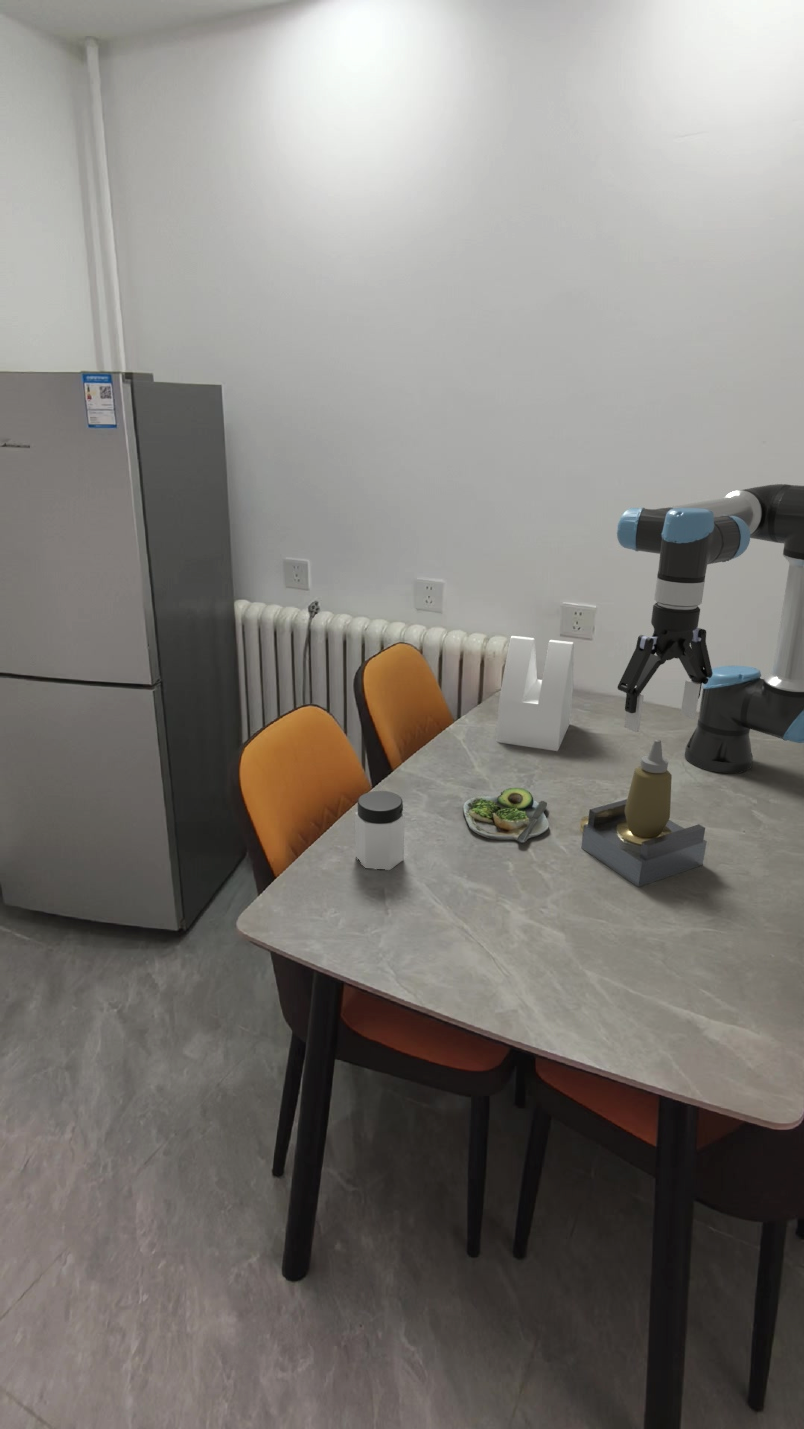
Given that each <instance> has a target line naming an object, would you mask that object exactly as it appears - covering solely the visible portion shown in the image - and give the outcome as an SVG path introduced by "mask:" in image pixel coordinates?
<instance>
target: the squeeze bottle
mask: <svg viewBox="0 0 804 1429" xmlns="http://www.w3.org/2000/svg"><path fill="white" fill-rule="evenodd" d="M668 766H669V761H668V759H667V758H665V757H663V749H662V741H661V740H660V739H654V740H653V743H652V745H651V747H650V750H649V753H648V754H647V755H644V756H641V760H640V766H637V767H636V768H635V769H634V772H633V776H632V780H631V783H630V787H629V791H628V795H627V798H626V799H627V802H626V806H625V810H624V811H625V816H626V820H627V824H628V828H629V830H630V831H631V832H632V833H633V834H636V835H638V836H642V837H657V836H659V835H660V834H661V833H662V831H663V829H664V827H665V826H666V824H667V822H668V821H669V820H670V816H671V798H672V776H673V775H672V774H671V772H670V771H669V770H668Z"/></svg>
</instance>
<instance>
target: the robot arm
mask: <svg viewBox="0 0 804 1429" xmlns="http://www.w3.org/2000/svg"><path fill="white" fill-rule="evenodd" d="M616 531H617V532H616V537H617V538H616V539H617V541H618V543H619V545H620V546H622V548H624V549H628V550H633V551H635V552H644V553H652V554H659V562H658V571H657V574H656V575H657V577H656V584H655V593H654V601H655V603H654V604H653V605H652V612H651V619H650V623H651V626H652V627H653V633H652V635H651V636H646V635H643V634H640V635H639V636H638V638H637V641H636V645H635V649H634V651H633V653H632V655H631V658H630V660H629V662H628V663H627V665H626V668H625V669H624V672H623V674H622V677H621V679H620V680H619V683H618V684H617V690H618V691H620V692H623V693H625V694H626V697H625V704H624V711H625V712H626V713H625V721H624V728H626V729H628V730H630V731H632V732H635V733H638V732H640V725H641V718H642V713H643V712H642V711H643V704H644V695H643V694H642V692H643V691H644V689H645V688H646V686H647V685H648V683H649V682H650V681H651V679H652V678H653V676H654V675H655V673H656V672H657V670H658V669H659V667H660V666H661V665H664V664H665V663H666V662H667V661H671V660H673V659H677V660H679V661H680V663H681V665H682V667H683V669H684V670H685V672H686V674H687V676H688V678H689V679H686V680H685V681H684V687H683V688H684V689H683V695H682V701H681V708H680V715H681V716H684V717H686V718H689V719H691V720H694V719H696V716H697V715H696V714H697V708H698V704H699V703H698V702H699V699H700V698H701V700H700V705H699V711H698V719H697V723H696V724H697V725H696V727H695V729H694V731H693V733H692V734H691V736H690V738H689V740H688V743H687V744H686V745H685V750H684V758H685V760H686V761H688V762H689V763H690V764H692V765H693V766H695V767H697V768H700V769H703V770H706V771H710V772H715V773H722V774H739V773H743V772H747V771H749V770H750V769H751V768H752V763H753V758H754V756H753V753H752V745H751V739H750V730H752V731H756V732H760V733H761V734H764V735H769V736H772V737H775V738H778V739H781V740H783V741H789V742H792V743H797V744H804V485H799V484H797V485H794V484H788V483H787V484H786V483H785V484H782V483H781V484H779V483H776V484H768V485H761V486H756V487H755V486H754V487H749V488H745V489H739V490H734V491H732V492H729V493H727V494H726V495H725V496H723V497H722V498H721V497H720V498H717V499H711V500H705V501H698V502H693V503H686V504H685V503H684V504H681V505H675V506H674V505H673V506H670V507H661V508H655V509H654V508H653V509H651V508H645V507H640V508H639V507H631V508H628V509H627V510H625V511H624V512H623V513H622V515H621V516H620V518H619V521H618V523H617V530H616ZM751 539H754V540H761V541H766V542H772V543H778V544H783V551H782V552H783V553H782V556H783V557H784V558H785V560H786V561H787V562H788V565H789V566H788V571H787V577H786V582H785V583H786V584H785V588H784V595H783V596H784V597H783V602H782V611H781V614H780V615H781V616H780V621H779V626H778V627H779V629H778V634H777V635H778V636H777V640H776V648H775V653H774V659H773V664H772V665H773V666H772V670H770V672H768V673H766V674H765V675H764V677H763V678H761V677H762V673H761V670H760V669H758V668H756V667H752V666H747V665H722V666H715V667H713V668H712V664H711V660H710V655H709V651H708V646H707V641H706V640H707V630H706V629H704V628H701V627H699V620H700V616H701V608H700V607H699V606H700V605H701V604H702V603H703V596H704V589H705V582H706V573H707V569H708V565H711V564H716V563H726V562H729V561H731V560H733V559H736V558H738V557H741V556H742V555H743V554H744V552H746V550H747V549H748V547H749V544H750V542H751ZM702 684H703V685H702ZM700 696H701V697H700Z"/></svg>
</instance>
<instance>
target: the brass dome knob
mask: <svg viewBox="0 0 804 1429" xmlns="http://www.w3.org/2000/svg"><path fill="white" fill-rule="evenodd" d="M588 819H589V815H586V816H583V817H582V818H581V819H580V824H579V831H580V833H581V834H582V835H583V828H584V825H585V824H588Z"/></svg>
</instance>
